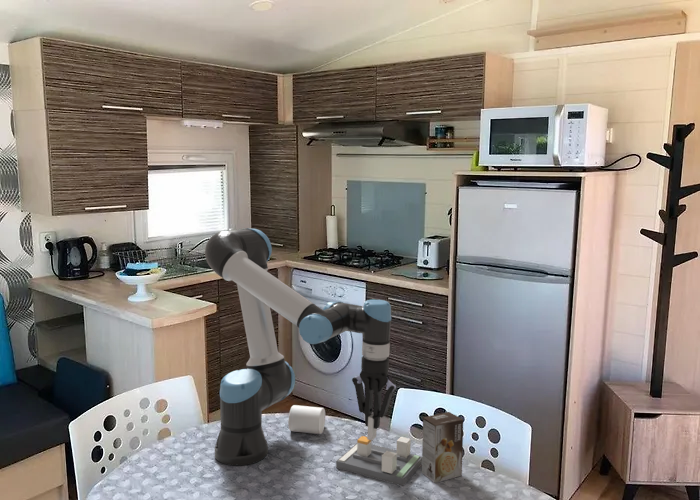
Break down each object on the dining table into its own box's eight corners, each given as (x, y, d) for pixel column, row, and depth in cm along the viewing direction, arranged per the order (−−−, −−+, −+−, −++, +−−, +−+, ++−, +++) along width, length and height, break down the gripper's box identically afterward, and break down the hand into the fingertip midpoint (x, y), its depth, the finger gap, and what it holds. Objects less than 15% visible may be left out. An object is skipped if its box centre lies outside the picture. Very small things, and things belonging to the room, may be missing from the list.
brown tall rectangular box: (448, 465, 164) (450, 410, 162) (462, 476, 158) (464, 419, 156) (420, 473, 159) (422, 416, 157) (434, 484, 154) (436, 425, 152)
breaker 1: (381, 470, 155) (381, 455, 155) (386, 466, 158) (386, 450, 158) (391, 473, 154) (392, 457, 154) (396, 468, 157) (396, 453, 156)
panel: (336, 467, 162) (336, 458, 161) (359, 447, 174) (359, 438, 174) (403, 486, 152) (403, 476, 152) (422, 463, 165) (422, 454, 164)
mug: (319, 438, 180) (319, 413, 179) (288, 435, 182) (288, 410, 181) (328, 422, 191) (328, 399, 190) (299, 419, 193) (299, 396, 192)
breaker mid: (357, 454, 164) (357, 439, 164) (361, 450, 167) (362, 435, 167) (366, 457, 163) (367, 442, 162) (371, 452, 166) (371, 438, 165)
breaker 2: (396, 455, 164) (396, 440, 164) (400, 451, 167) (400, 436, 166) (406, 458, 163) (406, 443, 162) (410, 453, 166) (410, 438, 165)
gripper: (348, 355, 160) (344, 437, 163) (391, 364, 154) (387, 449, 157) (360, 349, 167) (357, 427, 170) (402, 357, 161) (398, 438, 164)
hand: (371, 438), depth 163 cm, fingers closed
